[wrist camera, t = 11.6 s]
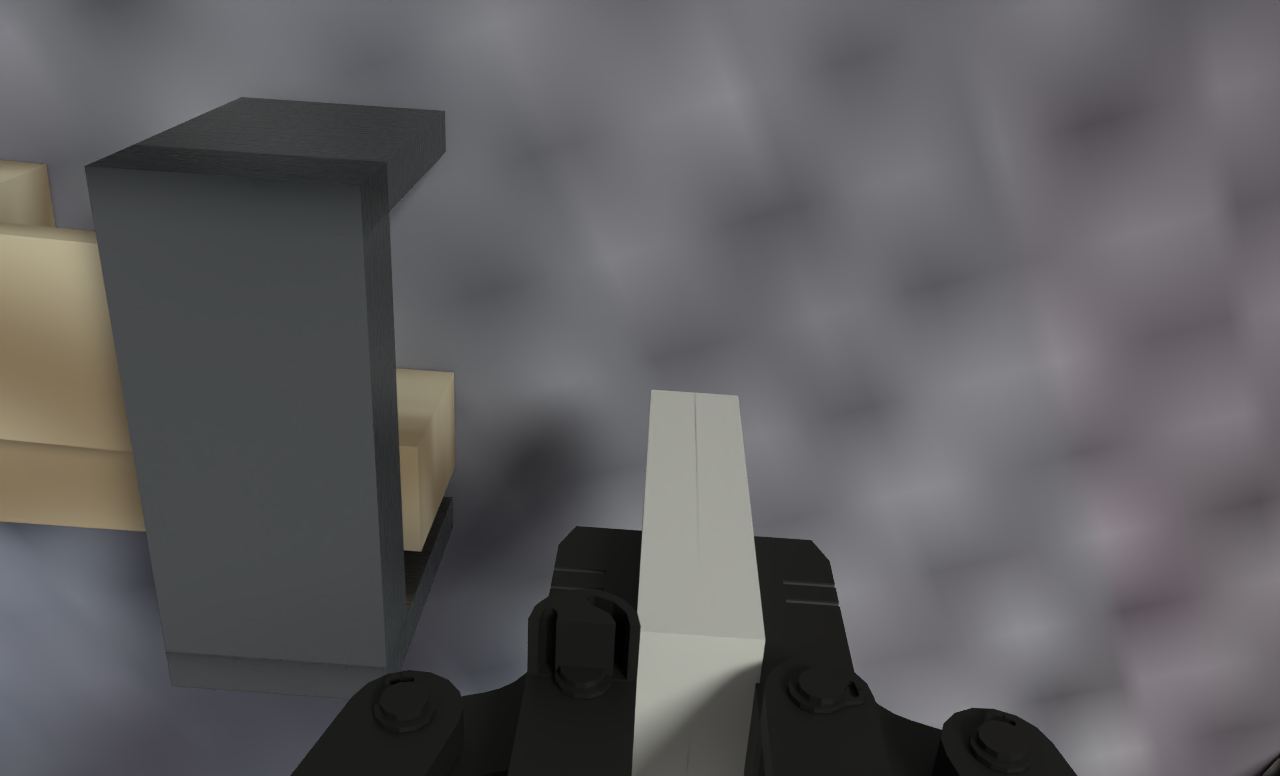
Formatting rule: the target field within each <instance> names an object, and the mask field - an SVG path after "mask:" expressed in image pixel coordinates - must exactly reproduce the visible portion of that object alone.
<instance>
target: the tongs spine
mask: <svg viewBox="0 0 1280 776" xmlns="http://www.w3.org/2000/svg"><path fill="white" fill-rule="evenodd" d="M396 383H397V406H398V428H399V451H400V474H401V497H402V520H403V543H404V550H407V551H422V548H423V546H424V543H425V541H426V538H427V536H428V533H429V531H430V528H431V526H432V523H433V521H434V518H435V516H436V513H437V511H438V508H439V506H440V504H441V501H442V499H443V496H444V494H445V491H446V489H447V486H448V484H449V481H450V479H451V476H452V474H453V471H454V469H455V410H454V372H440V371H425V370H411V369H397V368H396ZM0 521H4V522H18V523H31V524H45V525H59V526H73V527H87V528H101V529H115V530H129V531H143V532H146V530H145V524H144V518H143V512H142V506H141V500H140V494H139V488H138V482H137V476H136V470H135V464H134V458H133V452H126V451H116V450H106V449H96V448H86V447H76V446H66V445H55V444H45V443H35V442H25V441H15V440H5V439H0Z"/></svg>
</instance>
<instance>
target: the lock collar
mask: <svg viewBox="0 0 1280 776" xmlns="http://www.w3.org/2000/svg"><path fill="white" fill-rule="evenodd" d="M445 152H446V140H445V111H437V110H422V109H408V108H393V107H378V106H363V105H349V104H334V103H319V102H305V101H290V100H275V99H261V98H246V97H241V98H239V99H236V100H234V101H232V102H230V103H227V104H225V105H223V106H220V107H218V108H216V109H214V110H211V111H209V112H207V113H205V114H202V115H200V116H198V117H195V118H193V119H191V120H189V121H186V122H184V123H182V124H180V125H177V126H175V127H173V128H171V129H168V130H166V131H164V132H161V133H159V134H157V135H155V136H152V137H150V138H148V139H146V140H143V141H141V142H139V143H136V144H134V145H132V146H130V147H127V148H125V149H123V150H121V151H118V152H116V153H114V154H112V155H109V156H107V157H105V158H102V159H100V160H98V161H96V162H93V163H91V164H89V165H87V166H84V167H85V173H86V179H87V185H88V191H89V197H90V203H91V209H92V215H93V220H94V226H95V232H96V238H97V244H98V250H99V256H100V262H101V268H102V274H103V280H104V286H105V292H106V298H107V304H108V310H109V316H110V322H111V327H112V333H113V339H114V345H115V351H116V357H117V363H118V369H119V375H120V381H121V387H122V393H123V399H124V405H125V411H126V417H127V423H128V429H129V434H130V440H131V446H132V452H133V458H134V464H135V470H136V476H137V482H138V488H139V494H140V500H141V506H142V512H143V518H144V524H145V530H146V536H147V541H148V547H149V553H150V559H151V565H152V571H153V577H154V583H155V589H156V595H157V601H158V607H159V613H160V619H161V625H162V631H163V637H164V643H165V648H166V654H167V660H168V666H169V672H170V678H171V684H172V686H180V687H194V688H208V689H221V690H235V691H249V692H262V693H276V694H290V695H304V696H317V697H331V698H345V699H351V698H352V696H353V695H354V694H356V693H357V692H358V691H359V690H360V689H361V688H362V687H364V686H365V685H366V684H367V683H368V682H371V681H373V680H375V679H377V678H380V677H382V676H384V675H386V674H390V673H396V672H400V669H401V667H402V664H403V661H404V658H405V656H406V653H407V650H408V648H409V645H410V642H411V639H412V637H413V634H414V631H415V629H416V626H417V623H418V620H419V618H420V615H421V612H422V610H423V607H424V604H425V601H426V599H427V596H428V593H429V591H430V588H431V585H432V582H433V580H434V577H435V574H436V572H437V569H438V566H439V563H440V561H441V558H442V555H443V553H444V550H445V547H446V544H447V542H448V539H449V536H450V534H451V531H452V528H453V499H452V497H443V499H442V501H441V504H440V506H439V508H438V511H437V513H436V516H435V518H434V521H433V523H432V526H431V528H430V531H429V533H428V536H427V538H426V541H425V543H424V546H423V548H422V551H407V550H404V543H403V520H402V497H401V474H400V451H399V428H398V406H397V383H396V360H395V337H394V314H393V291H392V269H391V246H390V223H389V211H390V210H391V209H392V208H393V207H394V206H395V205H396V204H397V203H398V202H399V201H400V199H401V198H402V197H403V196H404V195H405V194H406V193H407V192H408V191H409V190H410V189H411V188H412V187H413V186H414V185H415V184H416V183H417V182H418V181H419V180H420V178H421V177H422V176H423V175H424V174H425V173H426V172H427V171H428V170H429V169H430V168H431V167H432V166H433V165H434V164H435V163H436V162H437V161H438V160H439V158H440V157H441V156H442V155H443V154H444V153H445Z"/></svg>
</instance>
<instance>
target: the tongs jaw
mask: <svg viewBox="0 0 1280 776" xmlns="http://www.w3.org/2000/svg"><path fill="white" fill-rule="evenodd" d="M0 439H5V440H15V441H25V442H35V443H45V444H55V445H66V446H76V447H86V448H96V449H106V450H116V451H126V452H132V446H131V440H130V434H129V429H128V423H127V417H126V411H125V405H124V399H123V393H122V387H121V381H120V375H119V369H118V363H117V357H116V351H115V345H114V339H113V333H112V327H111V322H110V316H109V310H108V304H107V298H106V292H105V286H104V280H103V274H102V268H101V262H100V256H99V250H98V244H97V238H96V232H94V231H84V230H74V229H64V228H56V226H55V219H54V212H53V206H52V199H51V193H50V186H49V180H48V173H47V166H46V165H45V164H35V163H25V162H15V161H5V160H0Z"/></svg>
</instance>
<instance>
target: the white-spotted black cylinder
mask: <svg viewBox="0 0 1280 776" xmlns="http://www.w3.org/2000/svg"><path fill="white" fill-rule="evenodd" d="M1262 776H1280V758H1278V759H1277V760H1276V761H1275V762H1274V763H1273V765H1272V766H1271V767H1270V768H1269V769H1268V770H1267V771H1266V772H1265V773H1264V774H1263V775H1262Z"/></svg>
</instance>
